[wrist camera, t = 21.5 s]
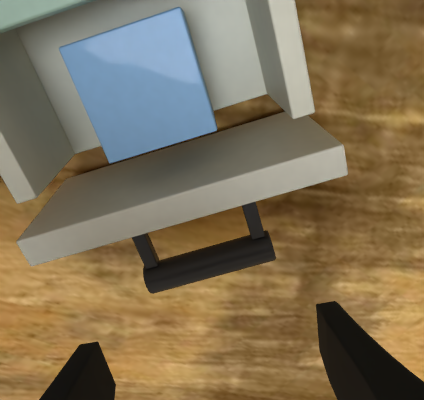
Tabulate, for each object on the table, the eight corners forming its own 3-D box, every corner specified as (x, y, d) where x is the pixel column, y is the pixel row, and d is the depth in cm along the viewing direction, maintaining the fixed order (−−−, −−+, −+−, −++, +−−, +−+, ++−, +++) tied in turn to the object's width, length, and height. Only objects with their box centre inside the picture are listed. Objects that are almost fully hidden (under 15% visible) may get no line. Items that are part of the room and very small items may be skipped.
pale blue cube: (212, 106, 18) (218, 131, 14) (126, 133, 18) (109, 164, 14) (183, 9, 16) (180, 6, 12) (88, 41, 16) (57, 47, 12)
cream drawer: (317, 201, 21) (363, 268, 16) (107, 261, 22) (77, 344, 17) (252, -123, 15) (288, -208, 9) (-35, -19, 16) (-159, -40, 10)
